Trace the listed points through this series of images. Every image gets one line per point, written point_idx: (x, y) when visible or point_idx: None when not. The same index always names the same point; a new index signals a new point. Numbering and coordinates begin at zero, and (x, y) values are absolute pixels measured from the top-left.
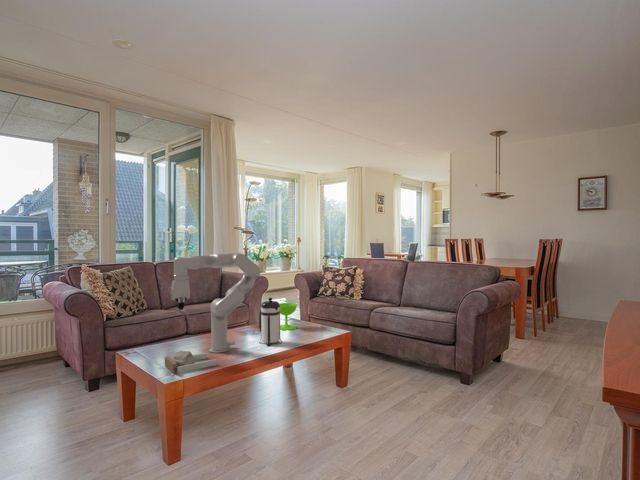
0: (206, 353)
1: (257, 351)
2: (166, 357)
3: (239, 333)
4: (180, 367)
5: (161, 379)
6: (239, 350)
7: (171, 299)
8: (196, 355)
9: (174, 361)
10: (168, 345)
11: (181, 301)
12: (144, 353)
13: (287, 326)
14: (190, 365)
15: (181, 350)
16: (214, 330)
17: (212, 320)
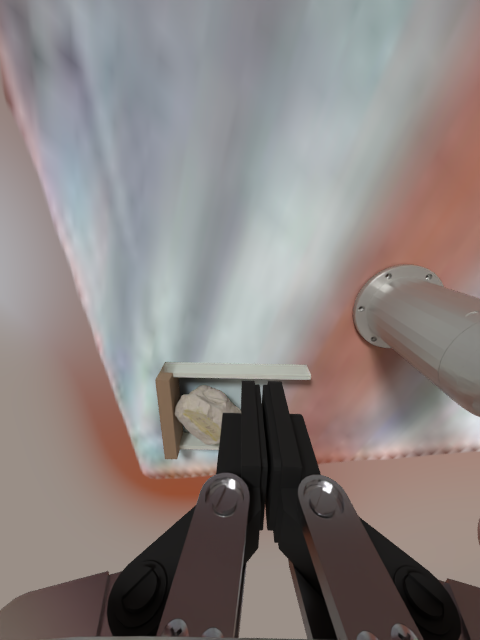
0: (307, 379)
1: None
2: (159, 390)
3: None
4: (188, 447)
5: (139, 449)
6: None
7: (5, 628)
8: (270, 378)
9: (173, 440)
10: (255, 27)
11: (283, 535)
12: (113, 128)
13: None
14: (217, 448)
15: (206, 416)
16: (421, 368)
17: (469, 389)
